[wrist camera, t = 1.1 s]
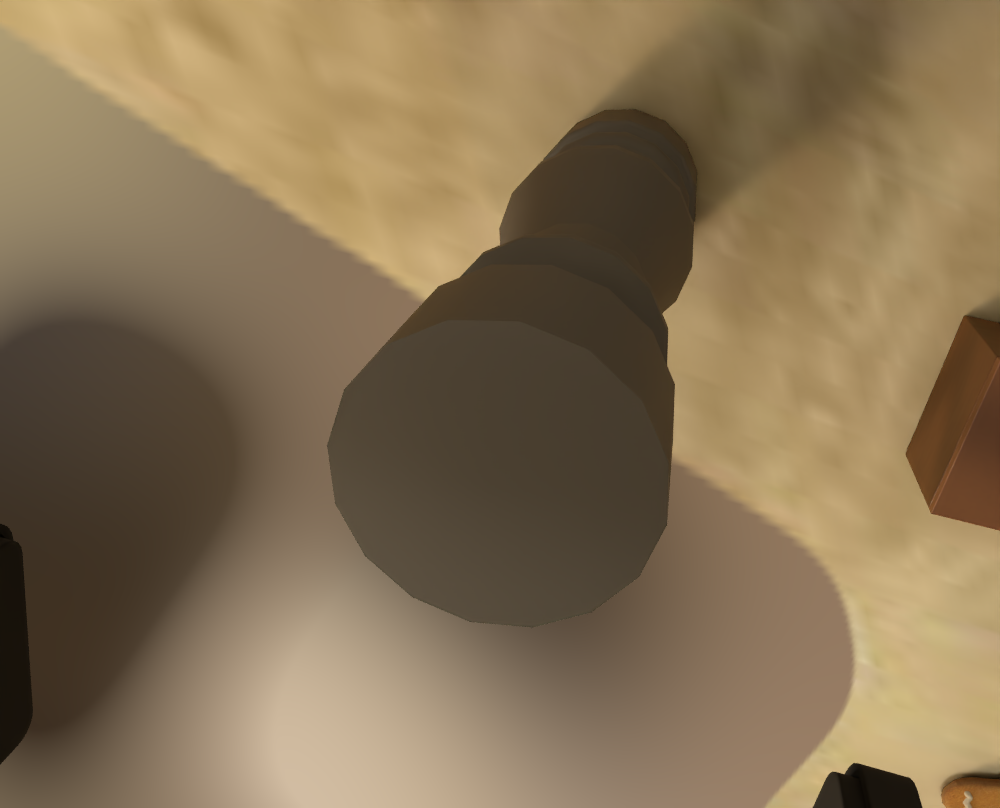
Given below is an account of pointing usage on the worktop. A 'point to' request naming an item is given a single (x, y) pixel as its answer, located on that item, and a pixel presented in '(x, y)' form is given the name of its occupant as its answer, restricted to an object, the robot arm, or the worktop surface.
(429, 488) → the candle holder
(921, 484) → the brown wooden block
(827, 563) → the worktop surface
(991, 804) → the cookie
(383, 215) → the worktop surface
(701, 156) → the worktop surface
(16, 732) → the robot arm
